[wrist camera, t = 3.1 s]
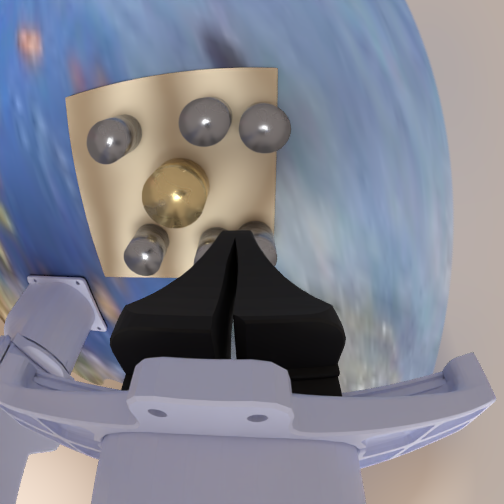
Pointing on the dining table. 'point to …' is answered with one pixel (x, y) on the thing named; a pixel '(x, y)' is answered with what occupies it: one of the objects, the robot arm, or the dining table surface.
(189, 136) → the metal pegs
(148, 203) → the gold dome
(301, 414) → the robot arm
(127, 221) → the board
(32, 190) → the dining table surface
